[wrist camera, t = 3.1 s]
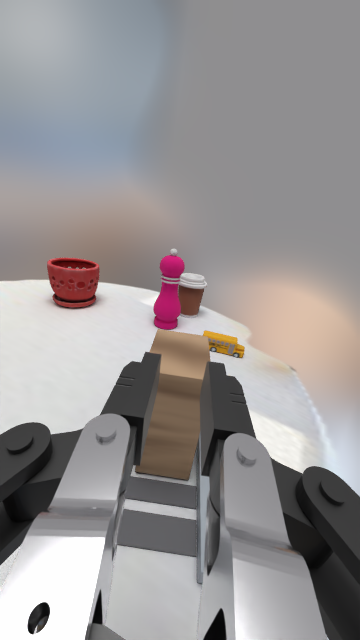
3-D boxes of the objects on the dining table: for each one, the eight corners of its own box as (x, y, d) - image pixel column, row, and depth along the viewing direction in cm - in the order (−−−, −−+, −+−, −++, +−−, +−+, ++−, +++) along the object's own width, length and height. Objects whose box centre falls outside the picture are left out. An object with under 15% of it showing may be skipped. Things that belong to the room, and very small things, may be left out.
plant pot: (46, 311, 58) (41, 265, 53) (56, 294, 70) (52, 255, 65) (99, 311, 62) (98, 269, 57) (100, 295, 74) (99, 259, 69)
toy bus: (242, 359, 50) (246, 345, 48) (199, 349, 51) (202, 335, 50) (242, 352, 52) (246, 338, 51) (202, 342, 54) (204, 329, 52)
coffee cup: (167, 311, 69) (171, 273, 64) (184, 305, 75) (189, 271, 70) (190, 322, 64) (197, 281, 59) (207, 314, 71) (214, 278, 66)
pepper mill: (146, 323, 59) (152, 246, 51) (163, 316, 65) (171, 246, 57) (168, 333, 56) (178, 252, 48) (183, 325, 61) (194, 251, 53)
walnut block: (188, 479, 25) (212, 380, 19) (135, 471, 25) (143, 370, 19) (190, 420, 32) (207, 336, 26) (149, 414, 32) (157, 329, 26)
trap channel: (215, 585, 18) (223, 569, 17) (81, 564, 18) (79, 546, 17) (204, 368, 44) (206, 356, 43) (150, 360, 44) (151, 347, 43)
